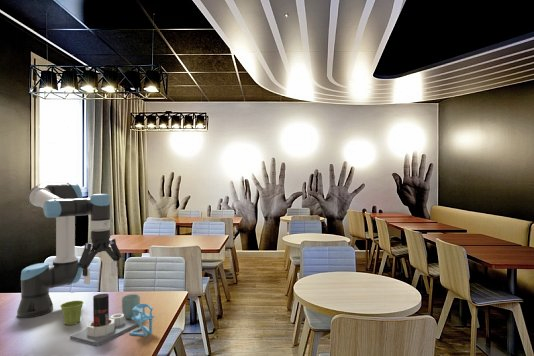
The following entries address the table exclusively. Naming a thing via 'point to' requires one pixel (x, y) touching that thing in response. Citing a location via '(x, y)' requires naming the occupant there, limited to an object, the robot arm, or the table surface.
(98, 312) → the deodorant
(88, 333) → the bore plate
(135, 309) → the chair
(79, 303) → the plant pot
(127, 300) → the cup
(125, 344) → the table surface
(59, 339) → the table surface
